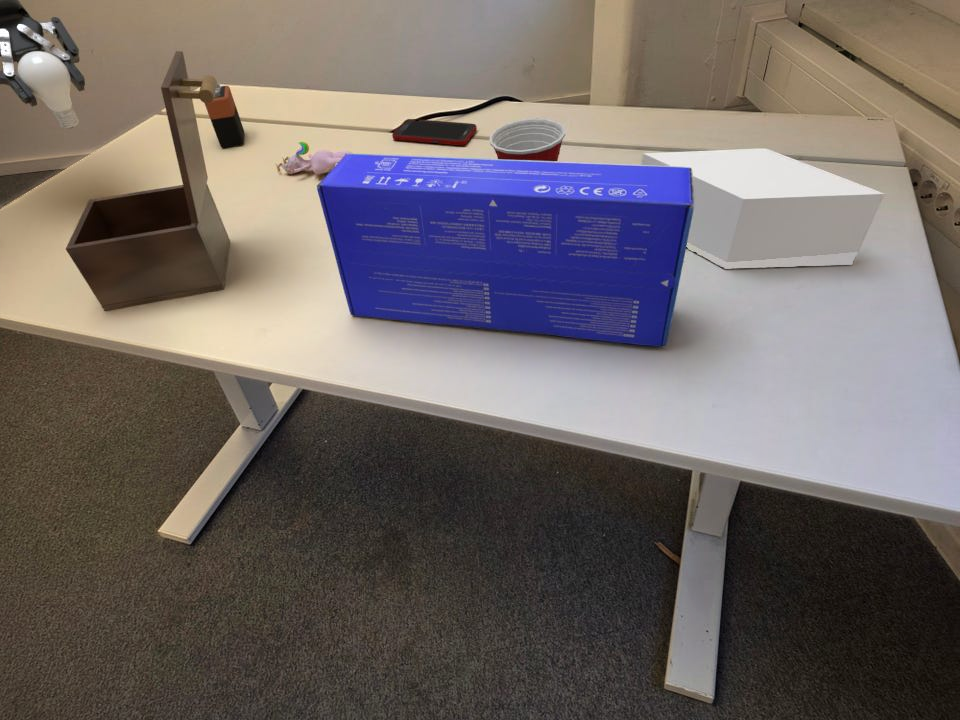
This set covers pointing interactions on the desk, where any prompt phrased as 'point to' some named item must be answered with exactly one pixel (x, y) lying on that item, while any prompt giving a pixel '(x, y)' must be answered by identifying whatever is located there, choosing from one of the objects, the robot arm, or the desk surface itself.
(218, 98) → the battery
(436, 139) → the cell phone
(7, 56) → the robot arm
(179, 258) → the chest
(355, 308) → the blue cardboard box
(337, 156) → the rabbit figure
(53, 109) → the lightbulb
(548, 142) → the plastic cup
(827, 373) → the desk surface
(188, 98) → the chest lid
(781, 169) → the white box
